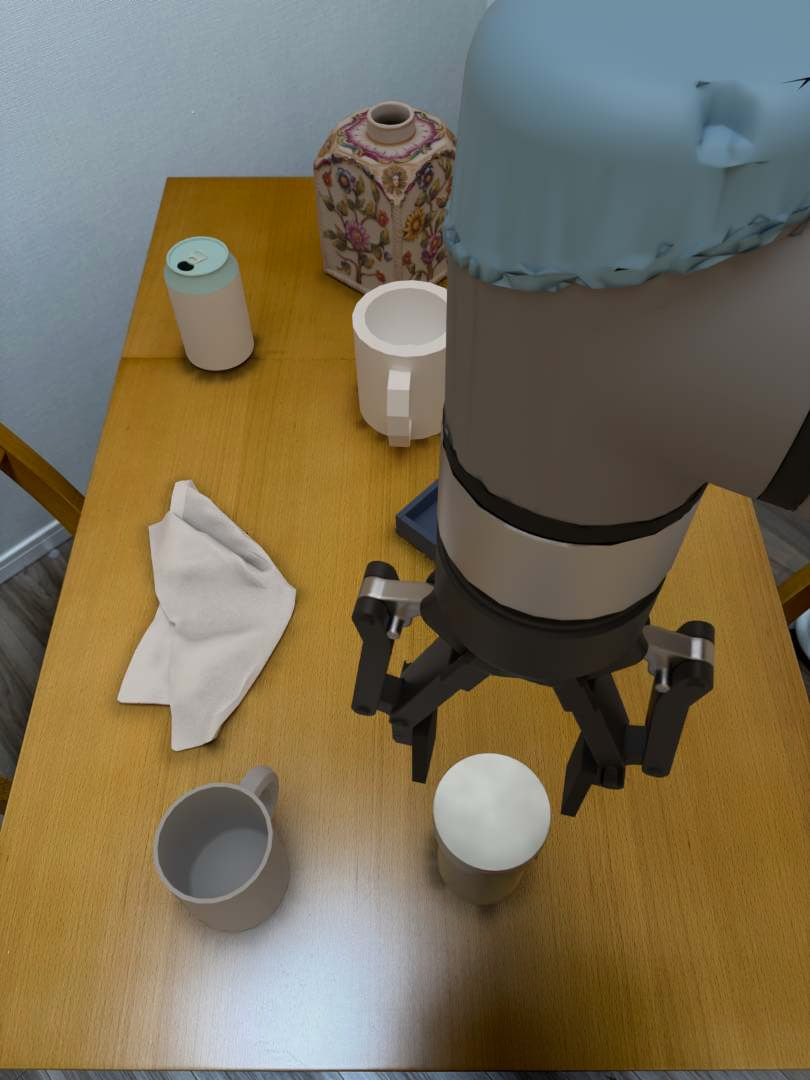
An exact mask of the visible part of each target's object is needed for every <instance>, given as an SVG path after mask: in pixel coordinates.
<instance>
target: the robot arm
mask: <svg viewBox="0 0 810 1080" xmlns="http://www.w3.org/2000/svg"><path fill="white" fill-rule="evenodd" d="M463 70H464V71H463V79H462V88H461V98H460V105H459V106H460V107H459V116H458V125H457V134H456V139H457V143H456V152H455V161H454V170H453V180H452V189H451V198H450V199H449V201H448V202H447V204H446V206H445V210H446V214H445V220H444V224H442V231H443V242H444V244H445V246H446V253H447V254H448V258H447V276H446V289H447V310H446V362H445V402H444V406H443V418H442V420H441V432H440V433H439V434H440V436H439V437H440V438H439V457H438V458H439V460H438V478H439V479H438V478H437V479H438V502H437V518H438V524H437V538H436V561H434V565H435V566H434V570H433V571H432V572H430V574H429V575H428V576H427V578H426V580H425V581H416V580H415V581H412V580H400V577H399V574H398V572H397V569H396V568H395V567H394V566H393V565H392V564H390V563H388V562H386V561H382V560H372V561H369V562H368V563H367V565H366V568H365V571H364V574H363V577H362V581H361V584H360V588H359V590H358V594H357V598H356V600H355V604H354V607H353V611H352V614H351V616H350V617H351V621H352V623H353V625H354V627H355V629H356V631H357V633H358V635H359V637H360V638H361V641H362V645H361V649H360V654H359V660H358V666H357V672H356V677H355V681H354V682H355V683H354V688H353V693H352V698H351V705H350V709H351V710H352V711H353V712H354V713H355V714H357V715H359V716H363V717H374V716H376V714H377V712H378V711H379V712H381V713H382V714H383V713H384V714H385V715H386V716H388V717H389V718H388V723H389V724H390V725H391V738H392V740H393V741H394V742H395V743H396V744H401V745H404V746H408V747H409V746H410V747H411V782H414V783H419V784H422V785H426V784H427V780H428V776H429V770H430V766H431V761H432V757H433V752H434V748H435V744H436V739H437V726H438V708H439V707H441V706H442V705H443V704H444V703H446V702H447V701H448V700H450V699H451V698H452V697H453V696H454V695H455V694H456V693H458V692H459V691H460V690H462V691H464V692H467V693H468V692H471V691H472V690H473V689H474V688H476V687H477V686H478V685H480V684H481V683H482V682H483V681H484V680H486V679H488V677H490V676H492V677H499V678H508V679H509V678H511V679H519V680H524V681H527V682H530V683H533V684H536V685H539V686H544V687H548V688H552V689H553V691H554V694H555V696H556V698H557V700H558V702H559V704H560V705H561V708H562V710H563V711H564V712H565V713H571V714H572V715H573V718H574V720H575V722H576V724H577V726H578V728H579V730H580V732H579V734H578V738H577V739H576V741H575V744H574V746H573V749H572V751H571V753H570V756H569V758H568V761H567V763H566V766H565V774H564V782H563V789H562V790H563V791H562V799H561V805H560V813H559V814H560V815H562V816H567V817H571V818H576V815H577V814H578V812H579V810H580V808H581V806H582V804H583V802H584V800H585V799H586V796H587V795H588V792H589V791H590V789H591V787H592V785H593V786H596V787H601V788H603V789H607V790H612V791H615V790H616V791H618V790H623V789H624V788H625V781H626V771H627V770H626V769H627V766H641V772H642V773H643V774H644V775H647V776H649V777H653V778H658V779H661V778H662V779H663V778H666V777H669V775H670V774H671V770H672V767H673V764H674V760H675V758H676V754H677V750H678V748H679V744H680V740H681V737H682V734H683V730H684V727H685V724H686V720H687V716H688V714H689V710H690V707H691V706H693V705H694V704H695V703H697V702H698V701H699V700H701V699H702V698H703V697H705V696H706V695H707V694H709V693H711V691H713V689H714V688H715V687H714V683H715V646H716V644H715V643H716V627H715V625H713V624H712V623H710V622H708V621H703V620H699V619H697V620H695V619H693V620H689V621H686V622H684V623H683V624H682V625H680V626H679V627H678V628H677V629H676V630H675V631H673V630H670V629H667V628H664V627H660V626H657V625H654V624H651V617H650V614H651V612H652V610H653V608H654V606H655V604H656V601H657V599H658V596H659V595H660V593H661V590H662V588H663V586H664V583H665V582H666V579H667V575H668V573H669V572H670V571H671V569H672V568H673V565H674V563H675V561H676V559H677V556H678V554H679V551H680V549H681V547H682V545H683V542H684V540H685V537H686V535H687V533H688V532H689V528H690V526H691V523H692V522H693V519H694V517H695V514H696V512H697V510H698V507H699V506H700V503H701V501H702V499H703V496H704V494H705V491H706V490H707V488H708V485H709V484H710V485H713V486H716V487H718V488H721V489H724V490H726V491H729V492H732V493H735V494H738V495H741V496H744V497H746V498H748V499H752V500H758V501H762V502H764V503H766V504H769V505H773V506H776V507H778V508H780V509H783V510H785V511H790V512H792V513H795V514H796V515H800V516H803V517H806V518H808V519H810V0H494V1H493V2H492V3H491V4H490V5H489V6H488V7H487V8H486V10H485V12H484V14H483V16H482V17H481V19H480V20H479V22H478V23H477V26H476V28H475V30H474V32H473V35H472V38H471V41H470V44H469V46H468V50H467V54H466V58H465V63H464V69H463ZM416 617H421V619H422V621H423V622H424V624H426V626H428V628H429V629H431V630H432V631H433V632H434V633H435V634H436V635H438V636H437V638H435V640H433V642H431V643H430V644H429V645H428V647H426V648H425V649H424V650H423V652H422V653H420V654H419V655H418V656H417V657H416V658H415V659H414V660H413V661H412V662H411V661H410V662H409V663H408V662H407V660H406V659H405V660H403V663H402V667H401V671H400V675H399V676H396V675H393V674H390V673H388V671H389V670H388V669H389V666H390V662H391V658H392V654H393V650H394V646H395V642H396V640H398V639H400V638H401V636H402V635H401V634H402V631H403V629H404V628H405V629H406V628H409V627H410V626H411V625H412V623H413V619H414V618H416ZM643 660H644V661H646V663H647V668H646V669H647V673H648V674H649V676H652V677H653V681H652V686H651V691H650V695H649V699H648V704H647V710H646V713H645V714H646V715H645V720H644V725H640V724H638V725H637V724H630V721H631V720H630V717H629V715H628V713H627V710H626V707H625V705H624V703H623V700H622V697H621V694H620V692H619V690H618V687H617V684H616V682H615V679H614V676H613V674H612V673H616V672H618V671H621V670H624V669H627V668H630V667H633V666H636V665H638V664H640V662H642V661H643Z"/></svg>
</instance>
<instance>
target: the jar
mask: <svg viewBox="0 0 810 1080" xmlns="http://www.w3.org/2000/svg"><path fill="white" fill-rule="evenodd" d="M437 845H438V847H437V866H438V871H439V874H440V877H441V879H442V881H443V883H444V884H445V886H446V887H447V888H448V890H449V891H450V892H451V893H452V894H453V895H454V896H456V897H457V898H459V899H460V900H462V901H464V902H466V903H468V904H473V905H477V906H487V905H493V904H497V903H499V902H501V901H503V900H505V899H507V898H508V897H509V896H510V895H511V894H513V892H514V891H515V890H516V889H517V888H518V886H519V884H520V882H521V880H522V877H523V875H524V872H525V870H526V868H525V869H524V870H522V871H521V872H519V873H517V874H515V875H512V876H509V877H505V878H499V879H486V878H480V877H477V876H473V875H471V874H469V873H466V872H464V871H463V870H461V869H460V868H458V867H457V866H456V865H454V864H453V863H452V862H451V861H450V860H449V859H448V858H447V857H446V855H445V854H444V853H443V851H442V850H441V848H440V846H439V844H438V843H437Z"/></svg>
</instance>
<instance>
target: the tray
mask: <svg viewBox="0 0 810 1080" xmlns="http://www.w3.org/2000/svg"><path fill="white" fill-rule="evenodd" d="M438 479H439V477H438V478H436V479H435V480H434V481H433V482H432V483H431V484H430V485H428V486H427V487H426V488H425V489H424V490H423V491H422V492H420V493H419V494H418V495H417V496H416V497H414V499H412V500H411V501H410V502H408V504H407V505H405V506H404V507H403V508H402V509H400V511H398V512H397V513H396V514H395V533H396V534H397V535H399V536H400V537H401V538H402V539H404V540H405V541H407V542H408V543H409V544H411V546H413V547H415V548H416V549H417V550H418V551H420V552H421V553H422V554H423V555H425V556H426V557H428V558H429V559H431V560H432V561H433V562H435V561H436V538H437V524H438V518H437V502H438Z"/></svg>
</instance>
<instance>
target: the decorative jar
mask: <svg viewBox="0 0 810 1080" xmlns="http://www.w3.org/2000/svg"><path fill="white" fill-rule="evenodd" d="M456 143H457V137H456V135H455V134H454V133H453V132H452V131H451V130H450V128H449V126H448V125H447V124H446V122H445V121H444V120H443V119H442V118H440V117H438V116H435V115H433V114H431V113H429V112H428V111H425V110H423V109H419V108H417V107H415V106H410V105H409V104H406V103H405V102H400V101H395V100H394V101H393V100H388V101H382V102H379V103H377V104H376V105H373V106H366V107H365V106H364V107H362V108H360V109H358V110H357V111H355V112H353V113H351V114H349V115H347V116H345V117H344V118H343V119H341V120H340V121H338V122H337V123H336V124H335V125H334V126H333V128H332V130H331V131H330V132H329V134H328V136H327V138H326V139H325V141H324V143H323V145H322V147H320V149H319V151H318V153H317V155H316V157H315V159H314V160H313V163H312V172H313V180H314V190H315V201H316V202H315V203H316V213H317V221H318V233H319V240H320V249H321V258H322V264H323V271H324V273H325V274H328V275H330V276H331V277H332V278H335V279H336V280H339V281H340V282H341V283H343V284H345V285H347V286H349V287H350V288H352V289H354V290H356V291H358V292H360V293H361V294H363V296H364V295H365V294H366V293H368V292H370V291H371V290H373V289H375V288H377V287H379V286H381V285H384V284H388V283H392V282H395V281H408V280H415V281H422V282H429V283H432V284H435V285H438V283H439V282H441V281H442V280H443V279H445V278H447V258H448V254H447V253H446V246H445V244H444V242H443V231H442V224H444V220H445V214H446V210H445V206H446V204H447V202H448V201H449V199H450V198H451V189H452V180H453V170H454V161H455V152H456Z"/></svg>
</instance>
